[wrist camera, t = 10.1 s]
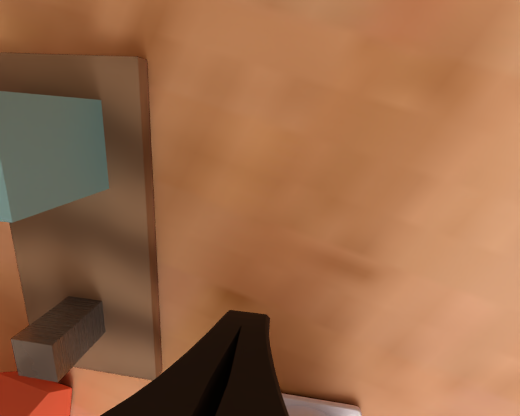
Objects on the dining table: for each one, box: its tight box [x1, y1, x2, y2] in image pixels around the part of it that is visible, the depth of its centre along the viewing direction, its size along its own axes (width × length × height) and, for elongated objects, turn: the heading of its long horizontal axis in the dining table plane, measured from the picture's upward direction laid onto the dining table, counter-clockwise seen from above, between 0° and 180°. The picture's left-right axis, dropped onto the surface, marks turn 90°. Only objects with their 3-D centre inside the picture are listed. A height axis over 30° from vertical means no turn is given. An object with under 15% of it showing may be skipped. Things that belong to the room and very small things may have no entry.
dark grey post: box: [11, 296, 106, 382], centre depth 20 cm, size 3×3×4 cm
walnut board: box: [0, 53, 162, 380], centre depth 21 cm, size 22×10×1 cm, turn 177°
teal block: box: [0, 91, 109, 223], centre depth 16 cm, size 5×5×7 cm
